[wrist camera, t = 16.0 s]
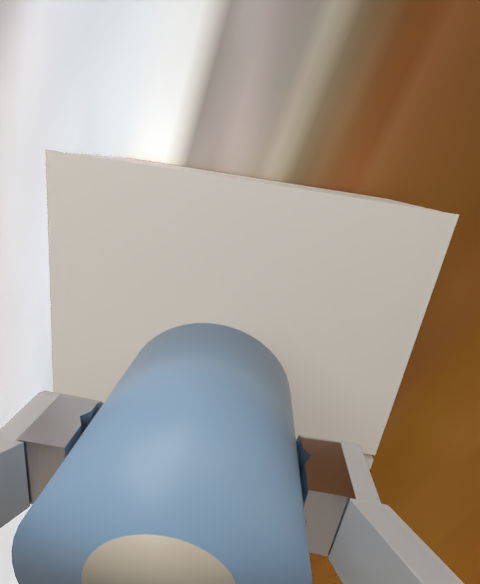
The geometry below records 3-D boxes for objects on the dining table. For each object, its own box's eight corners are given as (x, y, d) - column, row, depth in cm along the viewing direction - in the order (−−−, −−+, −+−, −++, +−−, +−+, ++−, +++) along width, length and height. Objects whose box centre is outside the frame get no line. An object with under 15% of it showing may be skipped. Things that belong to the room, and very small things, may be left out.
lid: (72, 154, 15) (45, 149, 13) (434, 210, 15) (459, 214, 13) (74, 391, 19) (54, 414, 17) (359, 440, 19) (370, 469, 17)
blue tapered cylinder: (131, 308, 9) (-7, 451, 5) (306, 337, 9) (350, 512, 5) (126, 444, 11) (22, 649, 6) (273, 470, 11) (280, 698, 6)
